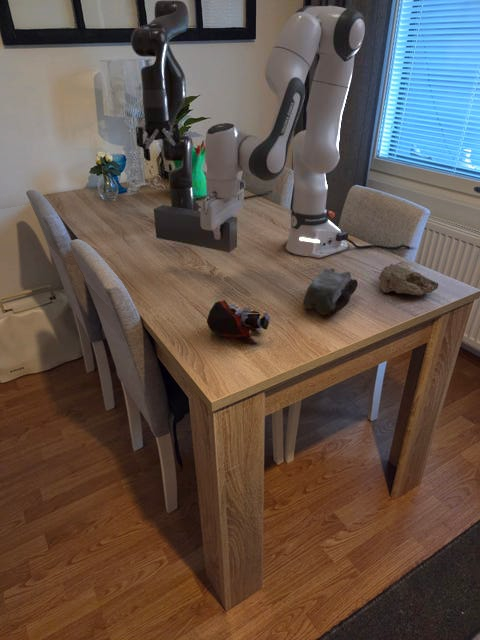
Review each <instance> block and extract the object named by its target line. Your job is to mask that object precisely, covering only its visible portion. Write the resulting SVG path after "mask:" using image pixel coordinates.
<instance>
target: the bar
mask: <svg viewBox="0 0 480 640" xmlns="http://www.w3.org/2000/svg"><path fill="white" fill-rule="evenodd" d="M200 215H201V210H198V211H196V210H190V209H184V208H178V207H172V206H171V205H165V204H161V205H160V206H158V207H156V208H153V216H154V217H153V218H154V228H155V238H156V239H159V240H160V239H161V240H165V241H171V242H175V243H179V244H186V245H189V246H190V245H191V246H194V247H195V246H196V247H201V248H205V249H211V250H215V251H219V252H220V251H221V252H226V253H231V252H232V251H234V250H235V249H236V248H237V247H238V217H237V216H234V217H231V218H229V219H228V220H226V221H225V222H224V223H223V224H221V225H220V232H222V238H221V239H219V240H217V239H215V238H214V232H213V230H212V231H210V230H204V229H202V228H201V225H200Z"/></svg>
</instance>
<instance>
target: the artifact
mask: <svg viewBox="0 0 480 640" xmlns="http://www.w3.org/2000/svg"><path fill="white" fill-rule="evenodd" d="M378 279H379V281H380V282H379V286H380V290H382V292H383V293H384V294H388V293H390V292H395V294H407V295H412V296H422V295H424V294H431V293H432V292H434V291H435V290H438V287H439V282H436V281H434V280H432V279H430V278H429V277H427V276H424V275H422V274H421V273H420V272H417V271H415V270H414V269H412V268H411V267H410V266H409V265H407V264H406V263H405V262H404V261H399V262H397V263H395V264H392V263H390V264H389V265H386V266H385V267H384V268H382V270H381V272H380V274H379V276H378Z"/></svg>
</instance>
